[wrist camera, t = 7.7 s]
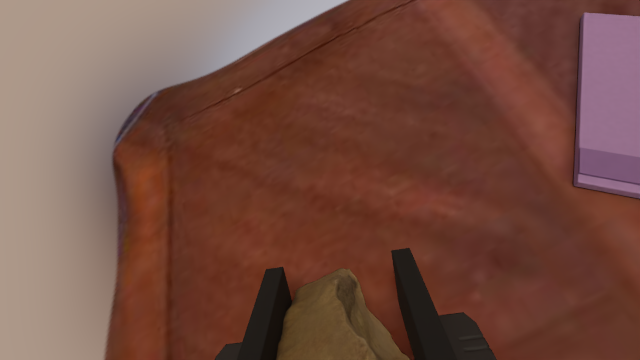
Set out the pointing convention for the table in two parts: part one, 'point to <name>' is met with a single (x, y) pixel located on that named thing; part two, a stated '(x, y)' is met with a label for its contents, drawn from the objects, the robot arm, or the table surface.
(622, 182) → the lavender flat block
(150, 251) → the table surface
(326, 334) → the rock
